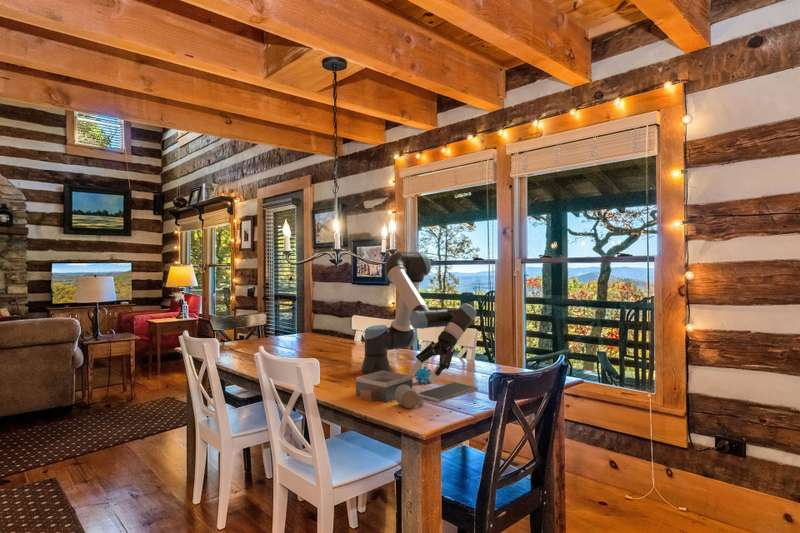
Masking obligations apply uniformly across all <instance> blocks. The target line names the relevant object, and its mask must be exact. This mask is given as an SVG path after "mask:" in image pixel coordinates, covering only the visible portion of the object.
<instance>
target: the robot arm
mask: <svg viewBox="0 0 800 533" xmlns="http://www.w3.org/2000/svg"><path fill="white" fill-rule="evenodd" d="M431 268H432V266H431V260H430V257H429V256H428V254H427V253H426V252H423V251H422V252H420V251H408V252H407V251H396V252H394V253H392V254H391V255H389V256H388V258H387V259H386V261H385V263H384V272H385V276H386V277H387V279H388V280H389V282H392V283H393V285H394V287H395V289H396V290H397V292H398V293H399V297H398V298H399V299H398V303H397V308H396V313H395V318H394V319H393V320H392V321H391V323H390V327H388V326H387V325H386V324H377V325H371V326H368V327H366V328H365V330H364V335H363V336H364V337H363V338H364V358H363V361H362V365H361V373H362V374H364V375H367V374H370V373H374V372H378V371H381V370H384V371H390V372H392V367H391V365H390V360H389V357H388V351H391V350H401V349H403V350H404V349H408V348H411V347H412V346H414V343H415V342H416V336H417V335H416V330H415V329H420V330H421V329H423V330H424V329H431V328H443V330H442V331H441V332H440V334H439V335H438V337H437V342H436V343H435V341H431V342H430V344H429V345H427V346H426V347H425V348H424V349H422V350H421V351H420V352H419V353H418V354H416V356H415V358H416V361H415V362H414V364H413V365H412V367H411V368H410V370H409V371H408V373H409V375H412V378H413V377H415V376H414V375H415V374H417V371H418V370H419V369H420V367H421V366H422V367H423V364H424V363H425V362H426V361H427V360H429V359H431V358H433V356H439V363H438V364H437V365H436V366H435V368H434V369H433V371H432V372H430V373H431V375H430V376H429V378H428V380H429V381H430V382H431V384H434V383H435V382H436V380H437V378H438V377H439V376H440V375H441V374H442V372H443V371H444V370H448V369H450V366H451V364H452V363H451V362H452V358H453V355H454V353H455V351H456V349H455V346H456V345H457V343H458V342H459V340H460V339H461V338H462V336H463V334H465V332H466V331H467V329H468V328H469V326H470V325H471V324H472V322H473V321H474V320H475V317H476V316H477V313H478V312H477V310H476V308H475V307H474V306H472V305H471V304H469V303H464V302H463V303H461V305H459V308H449V307H448V308H441V309H430V308H429V307H428V306H427V304H426V302H425V300H424V299H423V297H422V296H421V294H420V292H419V287H420V284H421V283H422V282H423V281H424V278H425V276H428V275H429V274H430V272H431ZM428 380H427V381H428Z"/></svg>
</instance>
